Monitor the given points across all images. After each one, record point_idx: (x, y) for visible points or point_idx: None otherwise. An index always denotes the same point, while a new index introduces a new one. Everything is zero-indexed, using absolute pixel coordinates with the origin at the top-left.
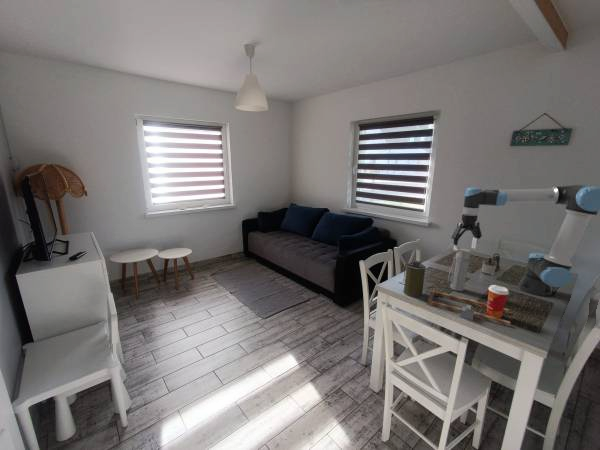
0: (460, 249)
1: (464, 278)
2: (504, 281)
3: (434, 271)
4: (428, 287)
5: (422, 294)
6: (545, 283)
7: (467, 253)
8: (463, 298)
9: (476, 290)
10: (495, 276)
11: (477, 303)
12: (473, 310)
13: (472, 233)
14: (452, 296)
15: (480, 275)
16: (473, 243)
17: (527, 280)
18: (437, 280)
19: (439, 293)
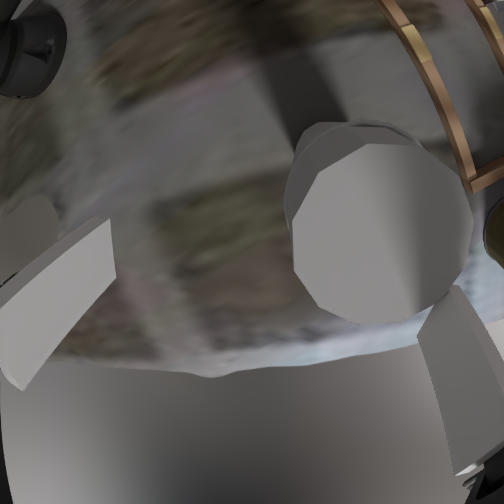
0: (388, 294)
1: (339, 122)
2: (51, 135)
3: (235, 319)
4: None
5: (500, 201)
6: (16, 19)
7: (424, 151)
8: (427, 65)
9: (239, 99)
10: (46, 180)
11: (402, 14)
12: (499, 3)
13: (2, 472)
14: (453, 106)
15: (83, 208)
16: (69, 299)
17: (27, 53)
18: None
19: (471, 157)
